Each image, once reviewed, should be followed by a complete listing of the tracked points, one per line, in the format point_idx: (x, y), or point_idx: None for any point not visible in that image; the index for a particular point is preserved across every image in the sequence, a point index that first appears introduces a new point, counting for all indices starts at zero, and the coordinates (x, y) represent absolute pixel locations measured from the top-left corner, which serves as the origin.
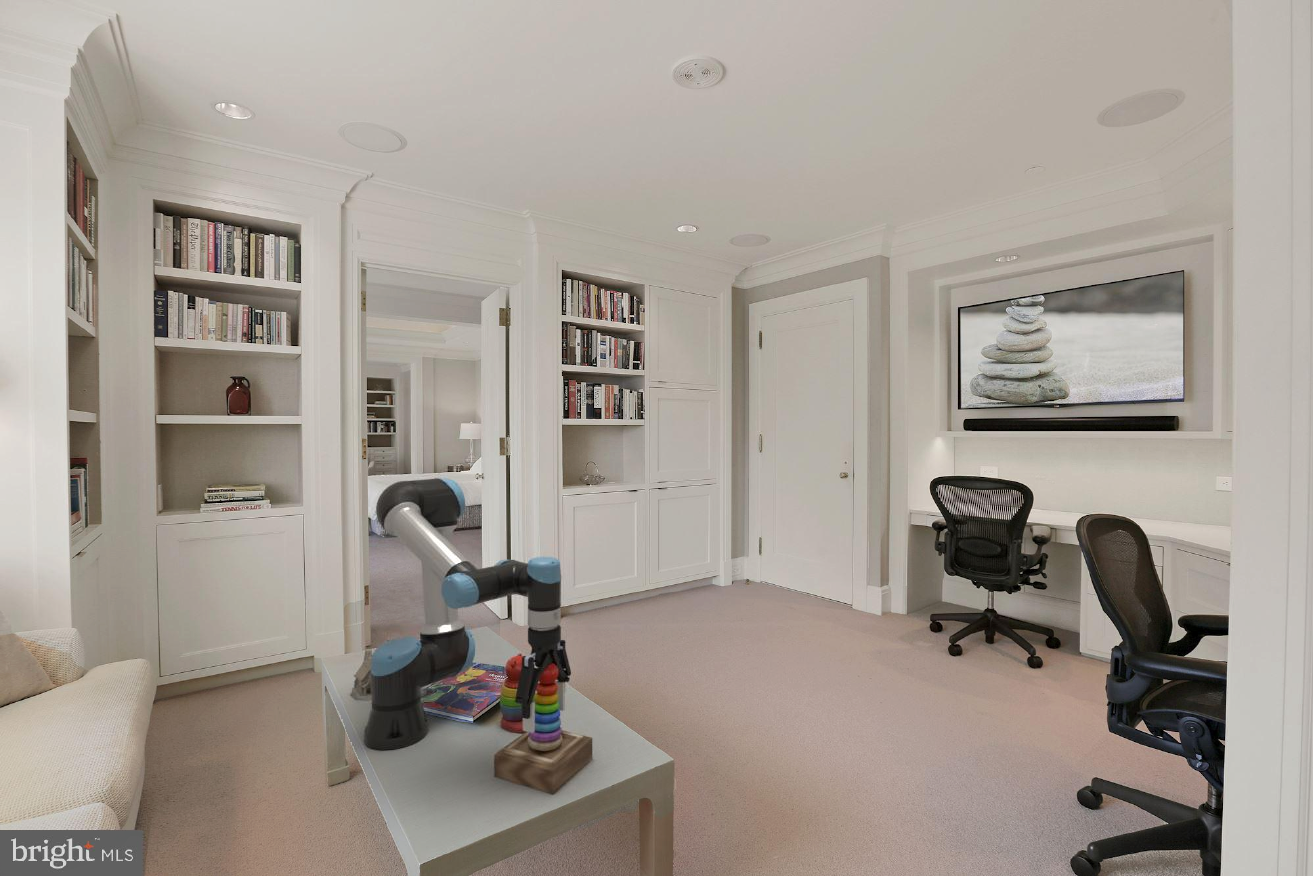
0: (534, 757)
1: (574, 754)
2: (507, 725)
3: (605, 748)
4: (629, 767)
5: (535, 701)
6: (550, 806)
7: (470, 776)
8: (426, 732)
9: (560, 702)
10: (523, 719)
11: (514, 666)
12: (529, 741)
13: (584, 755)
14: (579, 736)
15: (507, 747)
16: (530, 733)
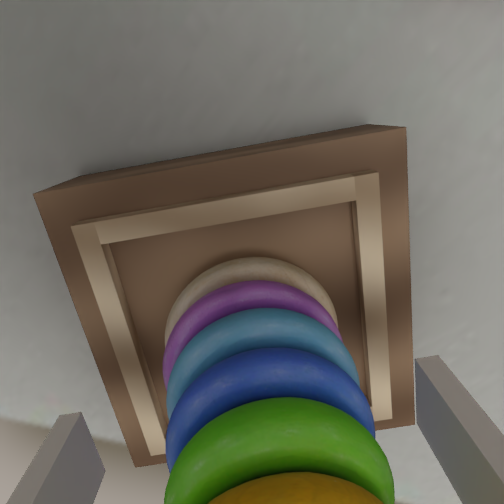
0: (128, 387)
1: None
2: None
3: (464, 359)
4: (396, 470)
5: (217, 483)
6: (110, 432)
7: (5, 88)
8: None
9: (444, 451)
10: (21, 488)
11: None
12: (170, 322)
13: None
14: (379, 409)
15: (94, 228)
16: (166, 350)
